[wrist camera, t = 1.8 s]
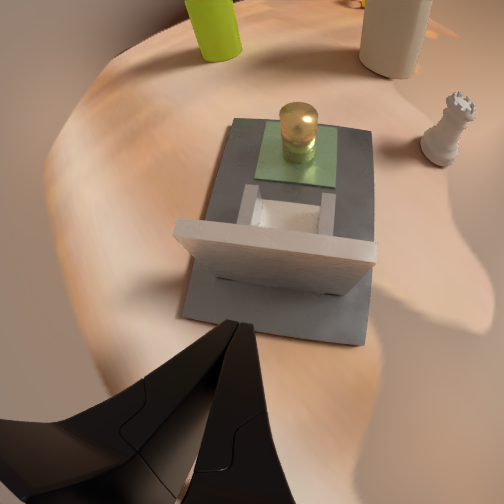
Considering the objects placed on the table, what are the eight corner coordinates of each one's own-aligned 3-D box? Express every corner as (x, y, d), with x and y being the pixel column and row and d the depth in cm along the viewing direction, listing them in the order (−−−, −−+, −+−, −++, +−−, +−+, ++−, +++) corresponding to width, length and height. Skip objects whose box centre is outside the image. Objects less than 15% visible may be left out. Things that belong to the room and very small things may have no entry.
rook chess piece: (418, 160, 25) (446, 107, 17) (418, 131, 26) (440, 78, 18) (454, 174, 24) (488, 126, 16) (452, 144, 25) (479, 96, 17)
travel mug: (403, 89, 28) (431, -32, 11) (349, 63, 31) (357, -55, 14) (419, 67, 30) (443, -34, 13) (371, 44, 32) (381, -55, 15)
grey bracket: (345, 295, 20) (376, 262, 13) (213, 276, 22) (172, 235, 14) (351, 215, 22) (376, 151, 14) (230, 201, 24) (204, 135, 16)
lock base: (361, 345, 20) (385, 344, 15) (185, 317, 23) (153, 306, 17) (369, 137, 26) (381, 95, 21) (235, 124, 29) (224, 82, 23)
